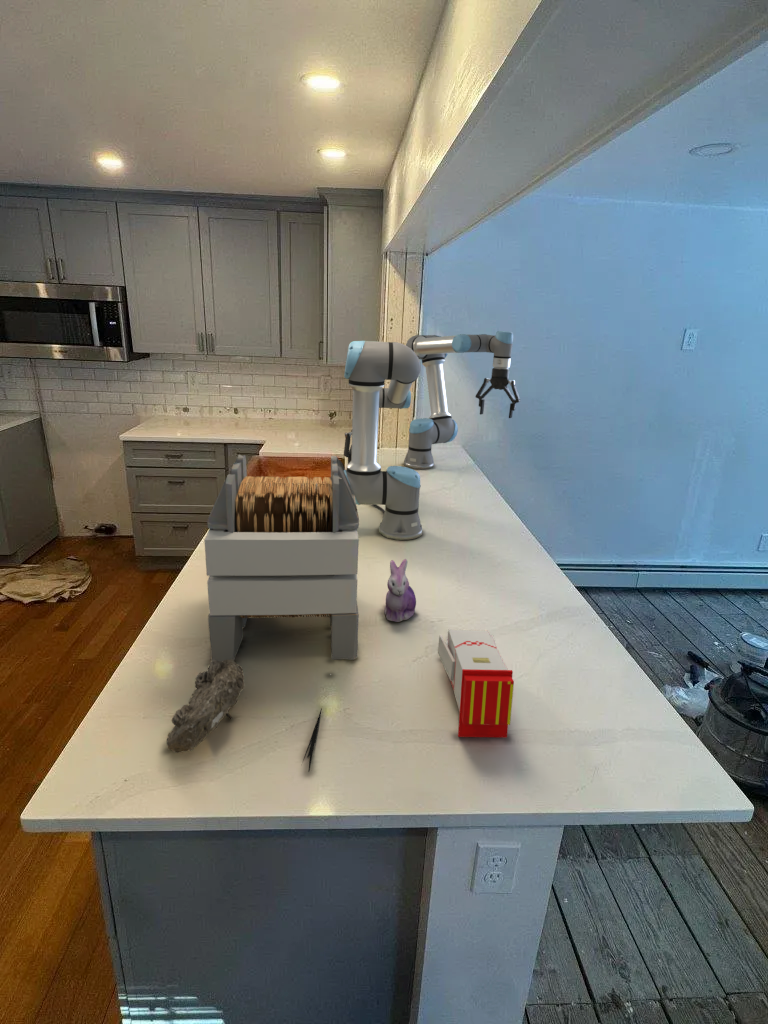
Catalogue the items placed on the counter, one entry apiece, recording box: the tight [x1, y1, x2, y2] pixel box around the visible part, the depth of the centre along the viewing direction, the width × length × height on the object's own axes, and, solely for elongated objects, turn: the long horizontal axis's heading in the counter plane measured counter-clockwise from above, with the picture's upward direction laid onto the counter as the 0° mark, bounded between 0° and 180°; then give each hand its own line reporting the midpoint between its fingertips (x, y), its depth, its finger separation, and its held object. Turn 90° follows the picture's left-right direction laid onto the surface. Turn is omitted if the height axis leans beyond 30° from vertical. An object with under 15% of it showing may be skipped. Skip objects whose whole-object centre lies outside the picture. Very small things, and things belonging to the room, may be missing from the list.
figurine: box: [384, 558, 417, 623], centre depth 145 cm, size 9×10×15 cm
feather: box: [301, 673, 332, 771], centre depth 108 cm, size 2×28×2 cm
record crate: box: [204, 454, 360, 662], centre depth 134 cm, size 34×33×41 cm
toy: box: [437, 628, 515, 738], centre depth 117 cm, size 12×13×30 cm
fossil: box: [166, 659, 245, 754], centre depth 106 cm, size 22×10×15 cm
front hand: (359, 472), depth 239 cm, fingers closed on canister, 7 cm apart
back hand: (495, 416), depth 258 cm, fingers open, 13 cm apart
